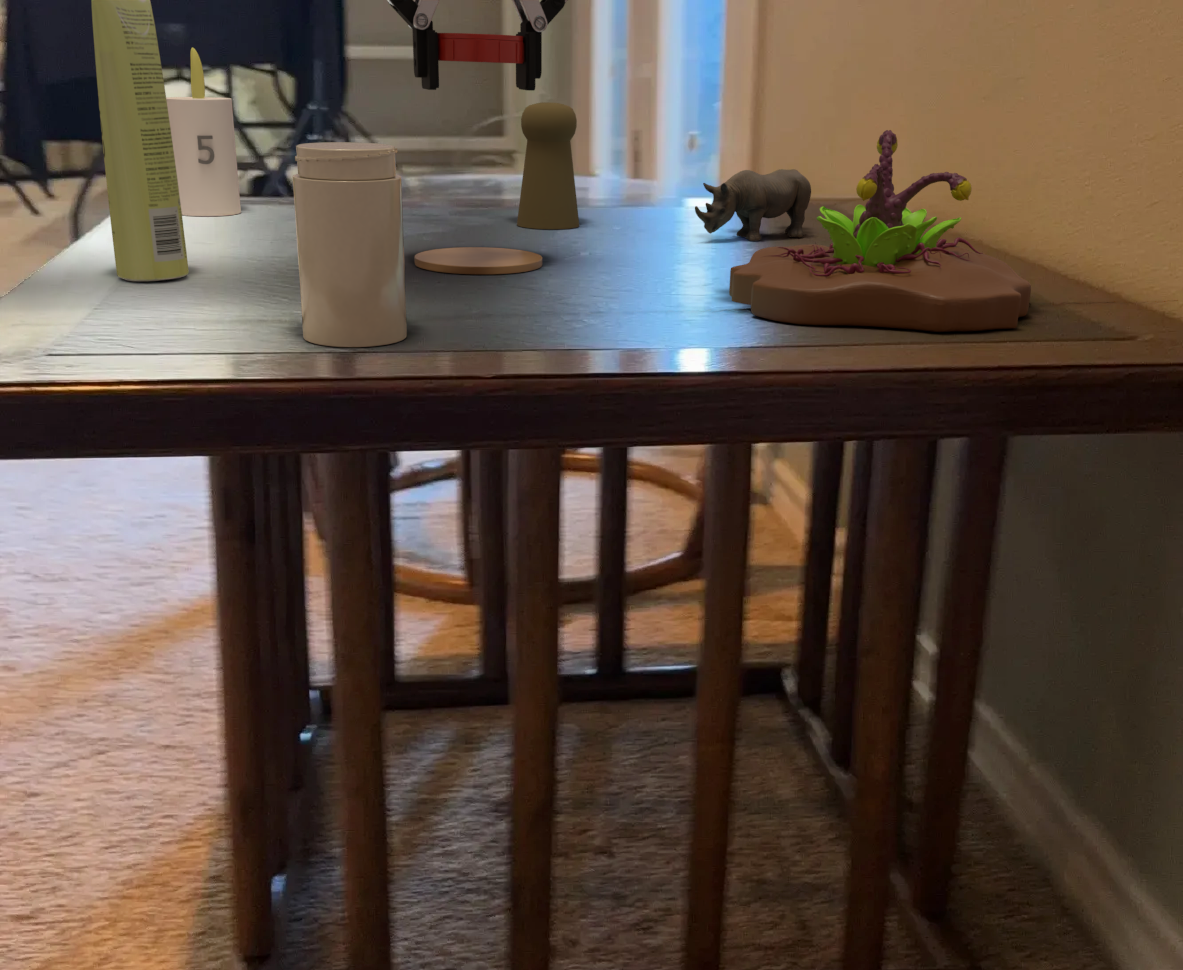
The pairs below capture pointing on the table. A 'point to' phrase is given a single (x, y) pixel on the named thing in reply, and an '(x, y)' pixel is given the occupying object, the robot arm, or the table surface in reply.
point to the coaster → (478, 260)
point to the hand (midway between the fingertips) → (478, 87)
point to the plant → (884, 268)
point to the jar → (350, 244)
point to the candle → (204, 149)
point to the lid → (480, 48)
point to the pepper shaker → (548, 168)
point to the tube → (137, 143)
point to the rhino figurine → (758, 201)
